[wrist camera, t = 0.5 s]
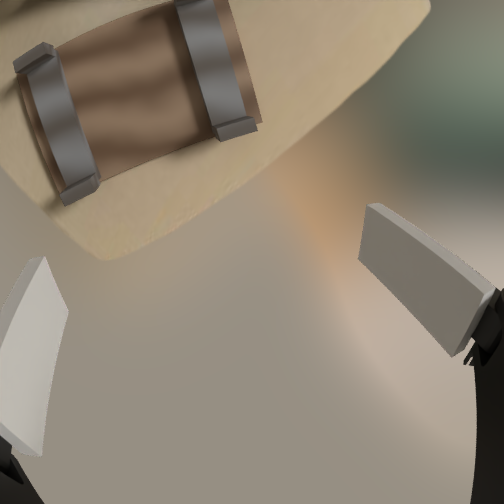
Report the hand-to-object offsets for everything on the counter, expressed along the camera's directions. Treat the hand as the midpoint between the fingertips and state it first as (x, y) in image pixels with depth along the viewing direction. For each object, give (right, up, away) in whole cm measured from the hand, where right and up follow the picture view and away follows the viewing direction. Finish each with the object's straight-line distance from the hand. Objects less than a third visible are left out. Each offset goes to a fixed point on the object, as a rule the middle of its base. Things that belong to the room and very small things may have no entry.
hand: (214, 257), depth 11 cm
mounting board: (-12, +19, +17) cm, 28 cm away
